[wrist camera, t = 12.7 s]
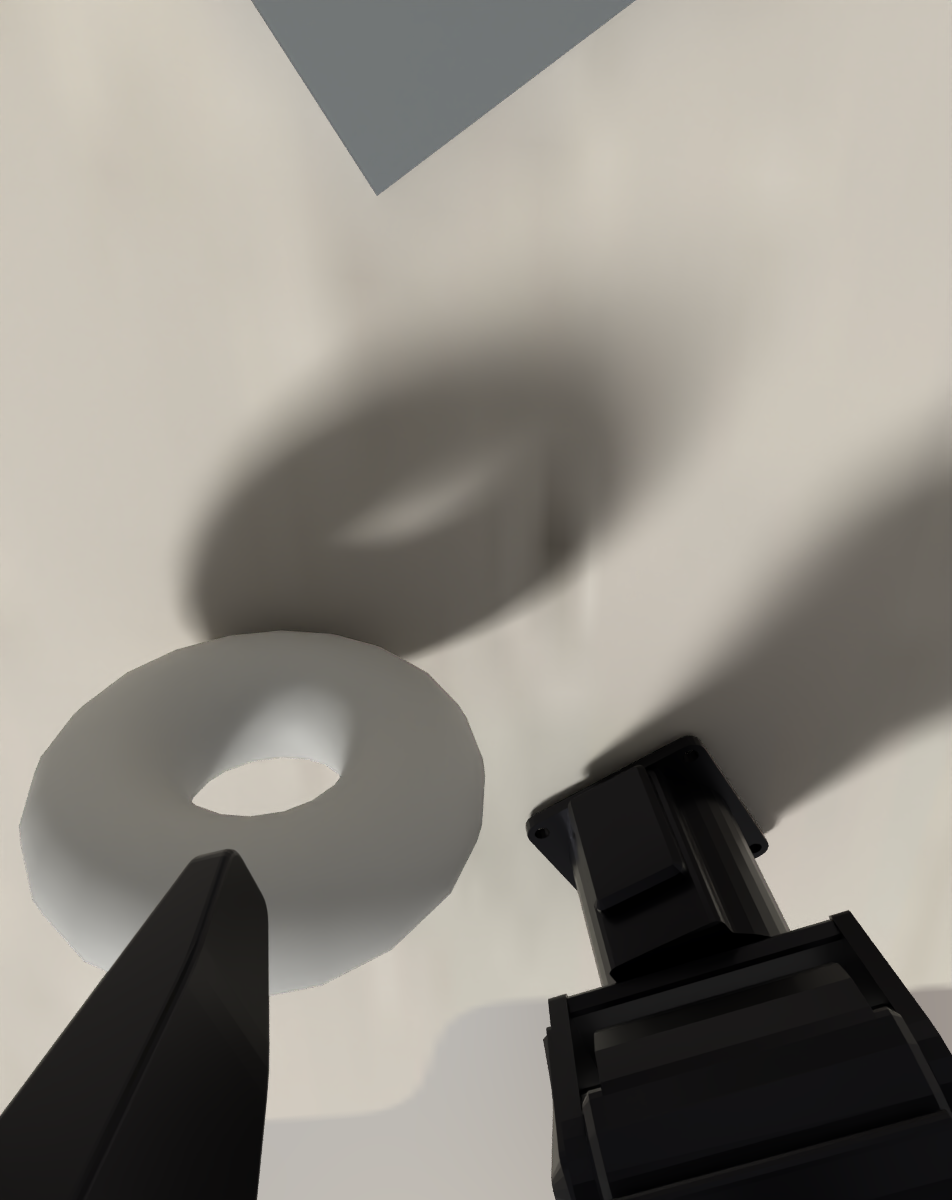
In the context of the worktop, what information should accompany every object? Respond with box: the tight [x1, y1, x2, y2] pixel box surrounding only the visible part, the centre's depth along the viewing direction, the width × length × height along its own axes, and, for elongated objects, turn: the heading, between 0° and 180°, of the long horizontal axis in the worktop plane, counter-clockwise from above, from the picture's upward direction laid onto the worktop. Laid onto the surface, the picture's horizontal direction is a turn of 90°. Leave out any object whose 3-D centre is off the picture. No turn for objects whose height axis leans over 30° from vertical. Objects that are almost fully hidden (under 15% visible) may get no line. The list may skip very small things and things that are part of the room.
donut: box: [19, 630, 485, 996], centre depth 18 cm, size 10×3×10 cm, turn 86°
